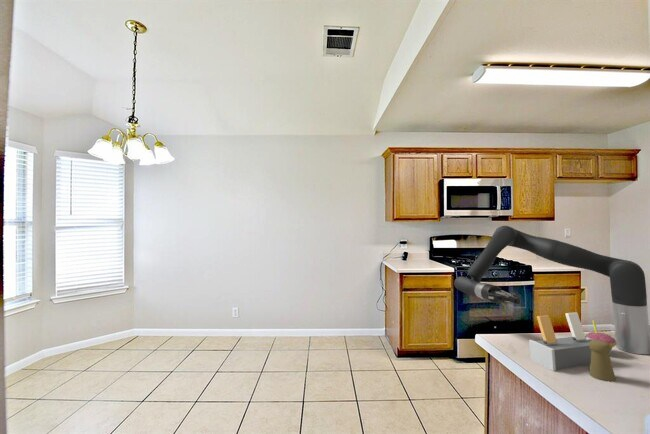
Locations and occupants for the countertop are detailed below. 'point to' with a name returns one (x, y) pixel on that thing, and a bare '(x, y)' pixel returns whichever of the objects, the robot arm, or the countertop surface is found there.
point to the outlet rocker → (546, 329)
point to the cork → (601, 361)
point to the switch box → (561, 353)
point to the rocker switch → (575, 326)
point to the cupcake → (601, 337)
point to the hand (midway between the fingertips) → (518, 301)
